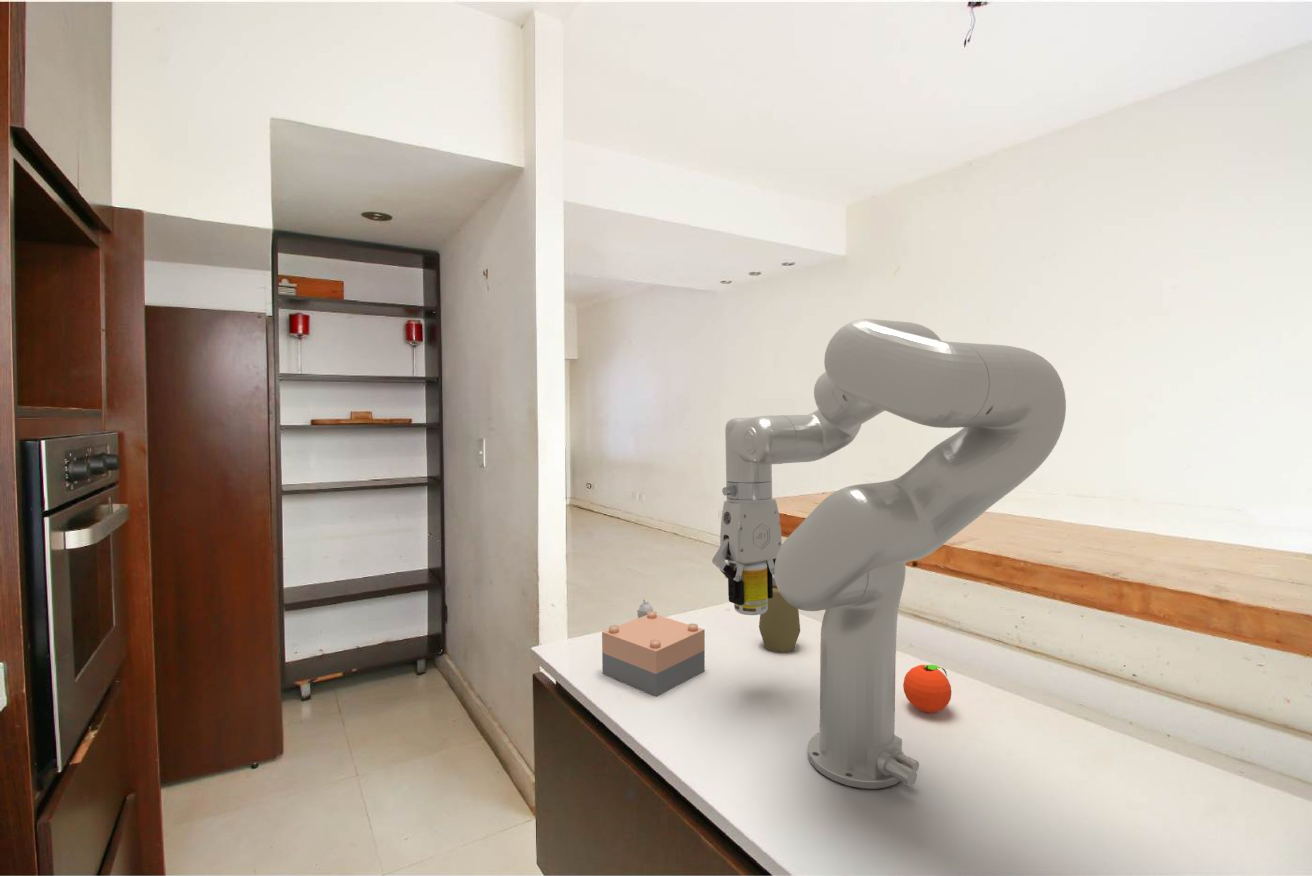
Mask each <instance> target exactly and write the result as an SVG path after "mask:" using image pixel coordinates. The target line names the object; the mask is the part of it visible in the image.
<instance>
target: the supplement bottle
mask: <svg viewBox="0 0 1312 876" xmlns="http://www.w3.org/2000/svg"><path fill="white" fill-rule="evenodd" d="M735 568H736V564H735V566H734V571H735ZM740 580H742V581H743V582H744V604H743V605H737V604H734V603H733V604H734V605H733V607H734V610H735V612H736V613H738V614H740V615H743V616H744V615H746V616H760V614H763V613H765V612H766V611H767V609H768V591H767V564H766V562H764V561H761V562H756V563H750V564H744V567H743V571H742V575H741V579H740Z"/></svg>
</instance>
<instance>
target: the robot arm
mask: <svg viewBox="0 0 1312 876" xmlns="http://www.w3.org/2000/svg"><path fill="white" fill-rule="evenodd" d="M824 370H825V372H823V373H822V374H821V375H820V376H818V378H817V380H816V381H815V384H814V386H813V387H814V389H813V396H814V401H815V404H816V407H817V410H815V411H813V412H811V413H809V414H787V415H786V414H782V415H779V414H777V415H759V416H755V417H735V418H731V419H729V420H728V421H727V422H726V424H725V429H724V430H725V431H724V433H725V434H724V435H725V476H726V477H725V480H726V481H725V482H726V483H725V484H726V486H725V487H723V488H722V494H723V495H724V496H726V500H723V507H722V512H721V519H720V532H719V533H720V536H719V539H720V540H719V541H720V542H719V543H720V544H719V547H718V550H717V551H716V553H715V555H714V556H713V558H712V559H711V561H712V564H714V566H716V568H717V569H719V571H720V572H721V573H722V574H723V575H724V578H725V579H727V585H728V586H727V588H728V589H727V591H728V592H727V593H728V602H730V603H732V604H737V605H743V604H744V582H743V581H742V580H740V579H741V575H742V571H743V567H744V564H750V563H756V562H761V561H764V562H766V564H767V591H768V598H769V599H770V598H773V576H772V574H774V577H775V582H776V586H777V588H778V591H779V592H780V594H781V595H782V597H783V598H784V599H785V600H786V601H787V602H788V603H789V604H791V605H792V606H794V607H796V608H798V610H800V611H804V612H805V611H806V612H819V611H824V610H825V611H824V614H823V617H822V622H821V627H820V651H819V652H820V653H819V654H820V662H819V663H820V664H819V665H820V666H819V668H820V669H819V670H820V671H819V678H820V679H819V732H818V733H816V734H814V735H813V736H812V737H811V738H810V740H809V741H808V744H807V757H808V759H809V762H810V763H811V765H812V766H813V767H814V768H815V769H816V771H818V772H819V773H821V774H822V775H824V776H825V777H827V778H829V779H830V780H832V781H834V782H837V783H838V784H842V785H845V786H848V787H853V788H858V789H865V790H866V789H868V790H871V789H872V790H873V789H874V790H875V789H883V788H889V787H891V786H894V785H896V784H898V783H900V782H901V783H903V784H904V785H906V786H908V787H911V788H912V787H913V786H914V785H915V783H917V782H916V781H917V777H918V775H917V773H918V771H919V767H920V763H919V761H918V760H915V759H914V758H912V757H911V756H907V755H905V754H904V752H903V748H902V745H903V738H901V737H900V736H897V735H896V734H895V727H896V726H895V721H896V720H895V718H896V717H895V716H896V713H895V712H896V664H897V663H896V662H897V661H896V657H897V656H896V655H897V627H898V617H899V616H898V614H899V608H900V604H901V598H902V593H903V590H904V586H905V580H906V573H907V572H906V563H909V562H914V561H917V560H921V559H923V558H926V557H928V556H930V555H932V554H933V553H934V552H936V551H937V550H939V549H940V548H941V547H942V546H943V545H945V544H946V543H947V542H948V541H950V539H952V538H954V536H956V535H957V534H958V533H959V532H961V531H962V530H964V529H965V528H966V527H967V526H970V524H971V523H973V522H974V521H976V520H977V519H978V518H979V517H981V515H983V514H984V513H985V512H986V511H987V510H989V509H990V508H991V507H992V506H993V505H995V504H996V503H997V502H999V501H1000V500H1002V499H1003V498H1004V497H1005V496H1006V495H1008V494H1009V493H1011V492H1012V491H1013V490H1014V489H1016V488H1017V487H1019V485H1021V484H1022V483H1023V482H1024V481H1026V480H1027V479H1028V478H1029V477H1030V476H1032V474H1034V473H1035V472H1036V471H1037V470H1038V469H1039V468H1040V467H1041V465H1042V464H1043V463H1044V462H1045V461H1046V460H1047V459H1048V457H1049V456H1050V455H1051V453H1052V452H1053V450H1054V448H1055V447H1056V445H1057V443H1058V441H1059V439H1060V436H1061V434H1062V431H1063V427H1064V424H1065V419H1066V414H1067V413H1066V409H1067V399H1066V390H1065V388H1064V385H1063V384H1064V383H1063V381H1062V379H1061V376H1060V375H1059V373H1058V372H1057V369H1056V368H1055V367H1054V365H1052V363H1051V362H1050V361H1048V360H1047V359H1046V358H1044V357H1043V356H1041V355H1039V354H1038V353H1036V352H1034V351H1031V350H1028V349H1026V348H1022V347H1021V348H1020V347H1017V346H1012V345H1003V344H991V343H990V344H988V343H974V342H973V343H970V342H956V341H948V340H946V341H945V340H942V339H941V338H940V337H939V335H937V333H935V331H933V330H931V329H930V328H928V327H926V326H924V325H921V324H919V323H915V322H910V321H899V320H895V321H894V320H885V319H873V318H862V319H861V318H860V319H857V320H853V321H851V322H848V323H846V324H845V325H844V326H842V327H840V328H839V329H838V330H837V331H836V332H835V334H834V335H833V336H832V337H831V339H830V340H829V342H828V344H827V347H826V349H825V353H824ZM883 412H888V413H891V414H893V415H895V416H898V417H900V418H903V419H905V420H908V421H910V422H913V423H916V424H919V425H922V426H925V427H931V428H939V429H940V428H941V429H945V428H946V429H951V428H954V429H955V428H960V430H959V431H958V432H956V433H954V434H953V435H951V436H949V437H947V438H946V439H944V440H943V441H941V442H940V443H938V444H937V445H935V446H934V447H933V448H932V449H930V450H929V451H927V452H926V454H925V455H924V456H923V457H922V458H921V459H920V460H919V461H918V462H917V463H916V464H914V466H912V467H911V468H910V469H909V470H907V471H906V472H905V473H904V474H902V475H901V476H899V477H897V478H895V479H891V480H885V481H880V482H873V483H872V482H871V483H870V482H869V483H868V482H867V483H859V484H854V485H849V486H846V487H843V488H840V489H838V490H837V491H835V492H833V493H831V494H830V495H828V496H827V497H826V498H824V499H823V500H822V501H821V502H820V503H819V504H818V505H817V506H816V507H815V508H814V509H813V510H812V511H811V513H809V515H808V516H807V517H806V518H804V520H803V521H802V522H801V523H800V524H799V525H798V526H797V527H796V528H795V529H794V530H793V531H792V533H790V534H789V536H788V537H787V538H786V539H785V540H784V541H783V542H782V527H781V520H780V519H781V518H780V512H779V507H778V503H777V500H776V498H773V476H772V475H773V473H772V472H773V471H772V467H773V466H772V465H783V464H794V463H795V464H796V463H811V462H815V461H819V460H821V459H824V458H826V457H828V456H831V455H832V454H835V453H836V452H837V451H840V450H842V449H843V448H845V447H846V446H849V444H851V443H852V442H853V441H854V440H855V438H857V435H858V433H859V432H860V431H861V427H862V424H865V423H867V422H868V421H869V420H872V419H873V418H875V417H876V416H878V415H880V414H881V413H883ZM726 561H727V562H726ZM735 564H736V568H735V571H734V566H735Z"/></svg>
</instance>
